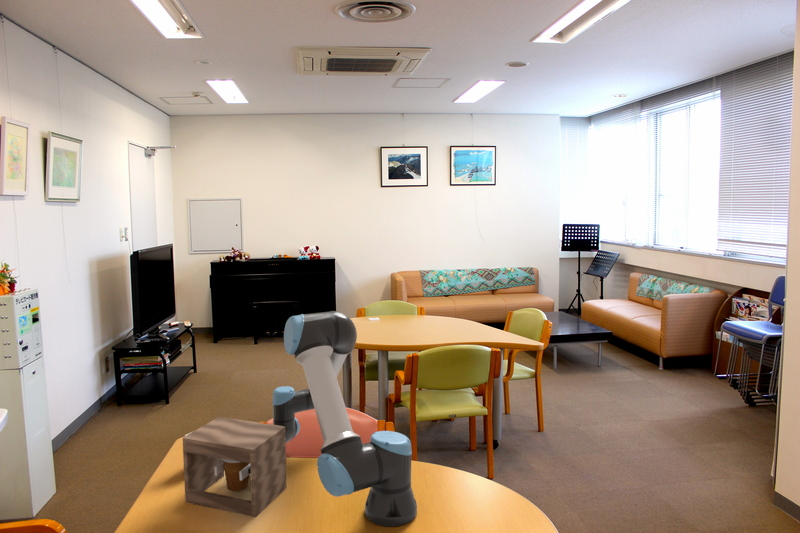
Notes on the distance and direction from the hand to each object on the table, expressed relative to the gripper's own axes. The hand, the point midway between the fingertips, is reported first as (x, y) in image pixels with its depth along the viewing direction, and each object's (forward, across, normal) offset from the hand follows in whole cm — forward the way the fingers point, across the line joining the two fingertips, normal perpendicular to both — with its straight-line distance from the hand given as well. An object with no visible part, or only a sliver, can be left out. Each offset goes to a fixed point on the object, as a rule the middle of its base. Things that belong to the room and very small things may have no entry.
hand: (228, 473), depth 163 cm
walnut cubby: (-5, 0, -9) cm, 10 cm away
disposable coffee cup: (-5, 0, -7) cm, 8 cm away
